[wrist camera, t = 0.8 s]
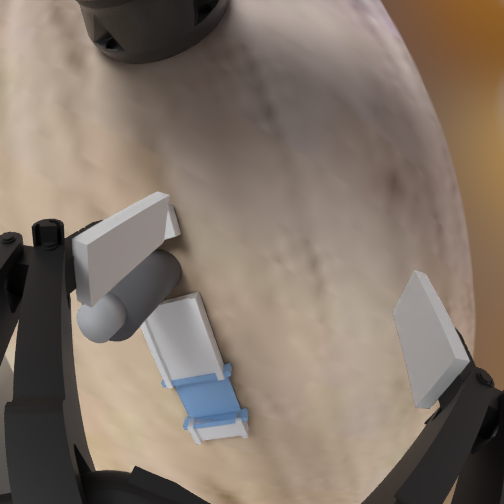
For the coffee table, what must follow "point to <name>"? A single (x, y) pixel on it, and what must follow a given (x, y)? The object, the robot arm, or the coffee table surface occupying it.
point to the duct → (194, 362)
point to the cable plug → (130, 299)
